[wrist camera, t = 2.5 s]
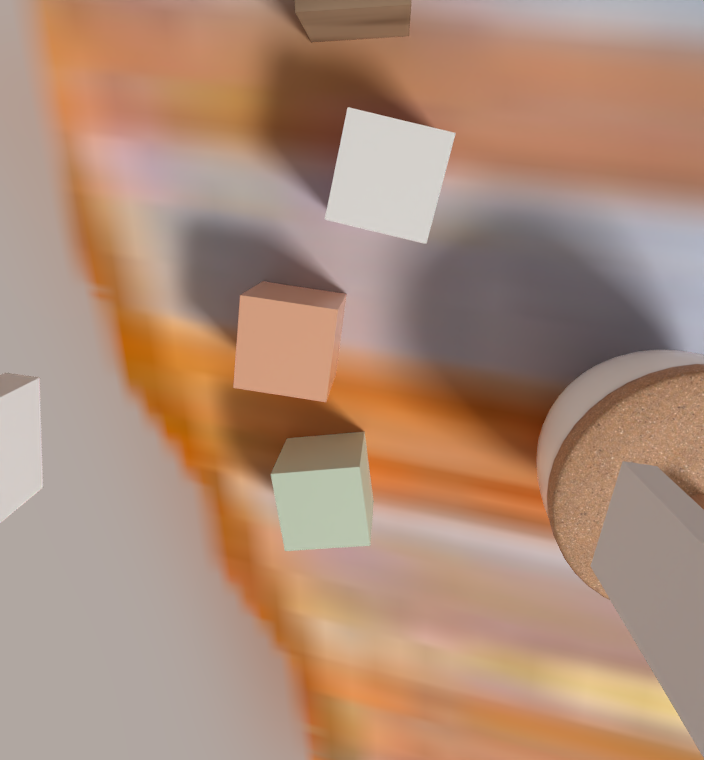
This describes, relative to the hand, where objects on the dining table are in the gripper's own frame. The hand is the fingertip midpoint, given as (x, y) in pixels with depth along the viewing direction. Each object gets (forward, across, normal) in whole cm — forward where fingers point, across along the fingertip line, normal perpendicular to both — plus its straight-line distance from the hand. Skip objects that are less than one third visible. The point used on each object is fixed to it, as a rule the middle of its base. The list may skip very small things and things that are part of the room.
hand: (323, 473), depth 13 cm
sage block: (+22, 0, -11) cm, 24 cm away
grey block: (+21, +1, +7) cm, 23 cm away
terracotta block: (+22, -3, -2) cm, 22 cm away
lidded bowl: (+21, +17, -5) cm, 27 cm away
